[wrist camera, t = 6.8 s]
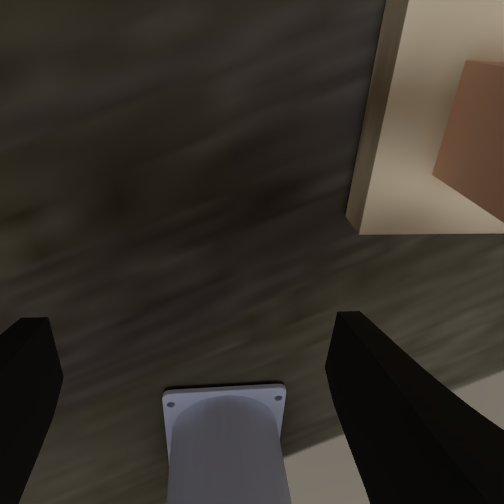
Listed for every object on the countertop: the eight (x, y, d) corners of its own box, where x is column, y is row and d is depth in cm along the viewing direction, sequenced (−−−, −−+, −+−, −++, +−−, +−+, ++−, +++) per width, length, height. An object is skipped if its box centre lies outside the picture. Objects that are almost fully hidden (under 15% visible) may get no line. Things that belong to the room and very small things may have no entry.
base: (522, 215, 21) (551, 232, 19) (345, 216, 20) (359, 234, 18) (621, -6, 16) (671, -9, 14) (390, -23, 15) (415, -28, 13)
